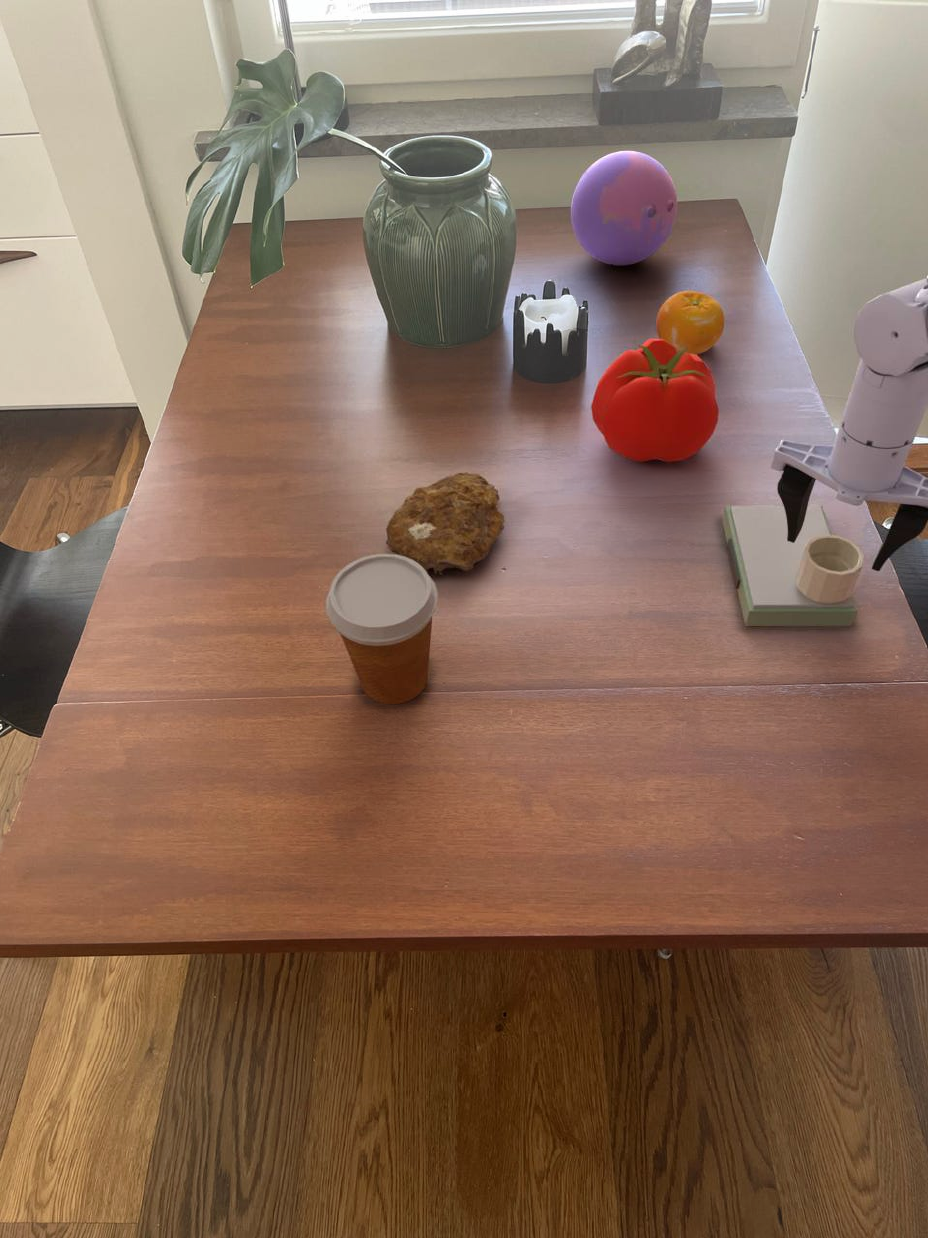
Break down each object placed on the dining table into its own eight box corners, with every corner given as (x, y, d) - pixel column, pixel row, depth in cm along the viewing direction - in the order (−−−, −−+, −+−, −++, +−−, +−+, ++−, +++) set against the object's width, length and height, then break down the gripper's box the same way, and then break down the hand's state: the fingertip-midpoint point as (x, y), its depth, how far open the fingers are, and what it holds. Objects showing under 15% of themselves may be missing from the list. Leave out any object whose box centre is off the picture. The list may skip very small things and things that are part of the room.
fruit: (689, 352, 114) (700, 284, 112) (638, 350, 120) (648, 285, 119) (731, 360, 119) (742, 295, 117) (679, 357, 126) (689, 296, 124)
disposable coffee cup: (325, 700, 85) (302, 612, 76) (373, 627, 90) (357, 538, 82) (417, 732, 82) (405, 645, 73) (461, 656, 88) (455, 566, 79)
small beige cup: (862, 588, 88) (875, 555, 84) (827, 615, 86) (839, 582, 82) (817, 560, 90) (828, 526, 87) (782, 585, 88) (792, 552, 85)
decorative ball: (621, 295, 131) (630, 188, 120) (548, 259, 139) (550, 155, 128) (691, 259, 137) (706, 154, 126) (617, 226, 145) (625, 124, 134)
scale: (851, 626, 88) (858, 607, 86) (742, 626, 89) (747, 608, 87) (817, 520, 98) (823, 502, 96) (719, 521, 99) (723, 502, 97)
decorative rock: (429, 482, 106) (374, 573, 97) (424, 454, 102) (367, 545, 94) (523, 498, 102) (475, 594, 93) (521, 470, 99) (471, 566, 90)
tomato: (715, 483, 103) (733, 394, 94) (587, 479, 104) (593, 390, 95) (708, 413, 111) (724, 325, 103) (589, 409, 113) (595, 322, 104)
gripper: (773, 427, 75) (743, 549, 85) (962, 482, 69) (906, 605, 79) (801, 383, 79) (769, 504, 89) (982, 432, 73) (926, 555, 83)
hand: (835, 549), depth 84 cm, fingers open, 7 cm apart
